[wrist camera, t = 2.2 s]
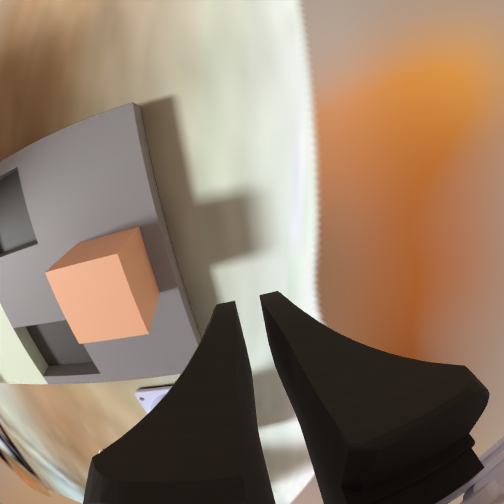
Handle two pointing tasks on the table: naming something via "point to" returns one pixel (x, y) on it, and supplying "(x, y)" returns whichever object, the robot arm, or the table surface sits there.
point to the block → (106, 287)
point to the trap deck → (79, 230)
